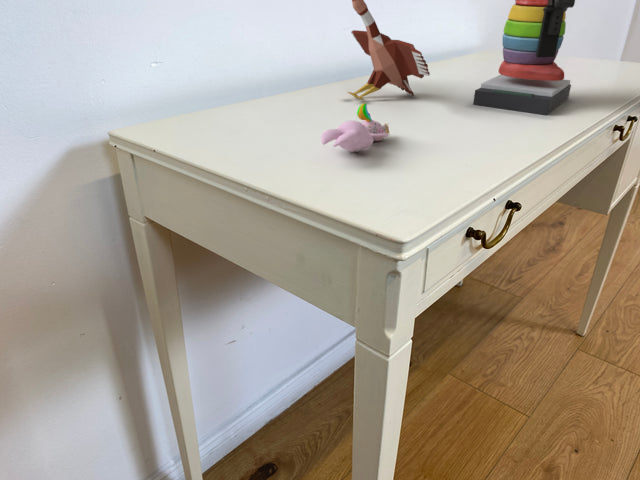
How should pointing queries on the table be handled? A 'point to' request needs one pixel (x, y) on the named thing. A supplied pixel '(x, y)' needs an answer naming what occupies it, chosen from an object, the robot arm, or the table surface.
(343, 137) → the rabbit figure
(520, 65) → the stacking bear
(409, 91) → the decorative bird
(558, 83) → the scale
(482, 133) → the table surface
